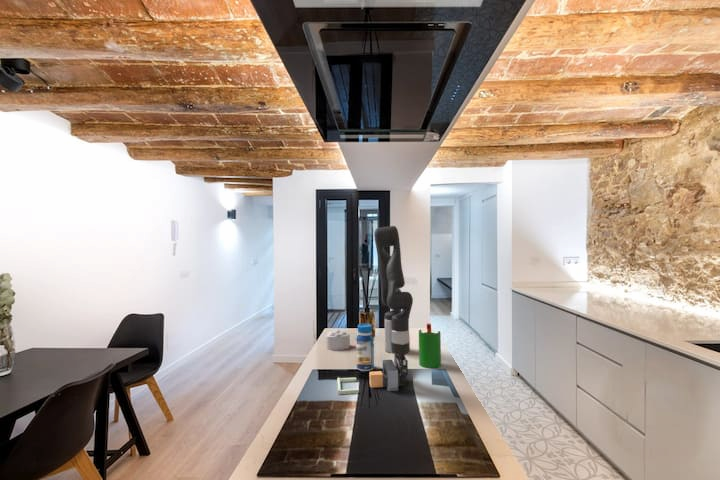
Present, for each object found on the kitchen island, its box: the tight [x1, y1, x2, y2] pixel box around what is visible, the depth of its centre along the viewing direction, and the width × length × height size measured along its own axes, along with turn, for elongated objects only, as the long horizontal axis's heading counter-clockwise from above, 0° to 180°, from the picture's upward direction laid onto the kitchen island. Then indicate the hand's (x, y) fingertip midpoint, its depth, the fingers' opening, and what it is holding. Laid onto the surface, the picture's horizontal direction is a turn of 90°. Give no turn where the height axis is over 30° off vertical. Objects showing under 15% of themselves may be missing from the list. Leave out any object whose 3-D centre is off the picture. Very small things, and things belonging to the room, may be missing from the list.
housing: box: [382, 359, 399, 392], centre depth 134 cm, size 4×12×8 cm, turn 6°
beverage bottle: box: [355, 323, 375, 372], centre depth 152 cm, size 8×8×20 cm
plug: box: [368, 370, 403, 388], centre depth 134 cm, size 14×4×5 cm, turn 96°
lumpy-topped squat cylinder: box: [325, 329, 351, 351], centre depth 185 cm, size 10×13×9 cm
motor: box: [418, 322, 442, 369], centre depth 156 cm, size 10×9×20 cm
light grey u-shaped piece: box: [336, 377, 360, 395], centre depth 132 cm, size 12×8×2 cm, turn 6°
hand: (400, 380), depth 135 cm, fingers open, 8 cm apart
